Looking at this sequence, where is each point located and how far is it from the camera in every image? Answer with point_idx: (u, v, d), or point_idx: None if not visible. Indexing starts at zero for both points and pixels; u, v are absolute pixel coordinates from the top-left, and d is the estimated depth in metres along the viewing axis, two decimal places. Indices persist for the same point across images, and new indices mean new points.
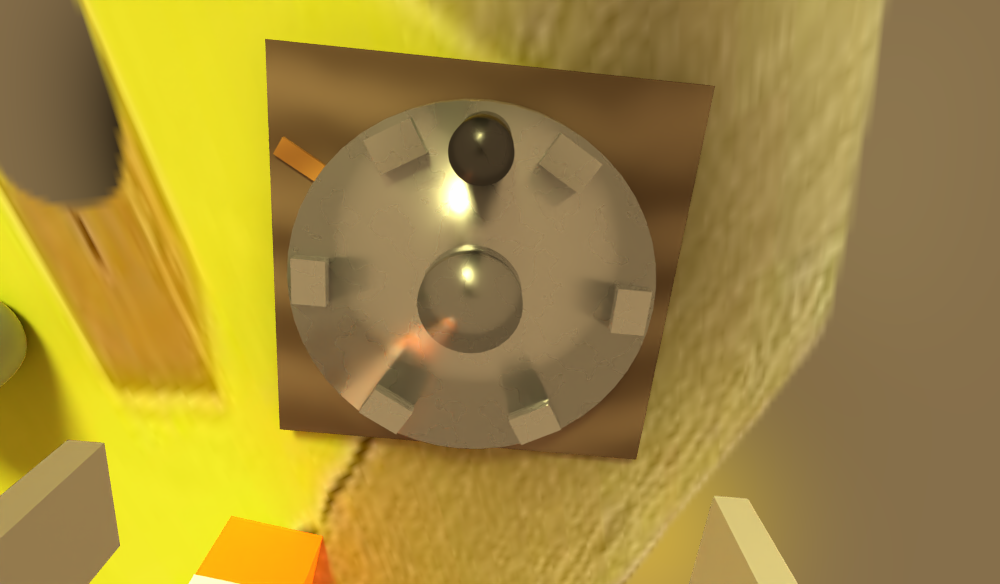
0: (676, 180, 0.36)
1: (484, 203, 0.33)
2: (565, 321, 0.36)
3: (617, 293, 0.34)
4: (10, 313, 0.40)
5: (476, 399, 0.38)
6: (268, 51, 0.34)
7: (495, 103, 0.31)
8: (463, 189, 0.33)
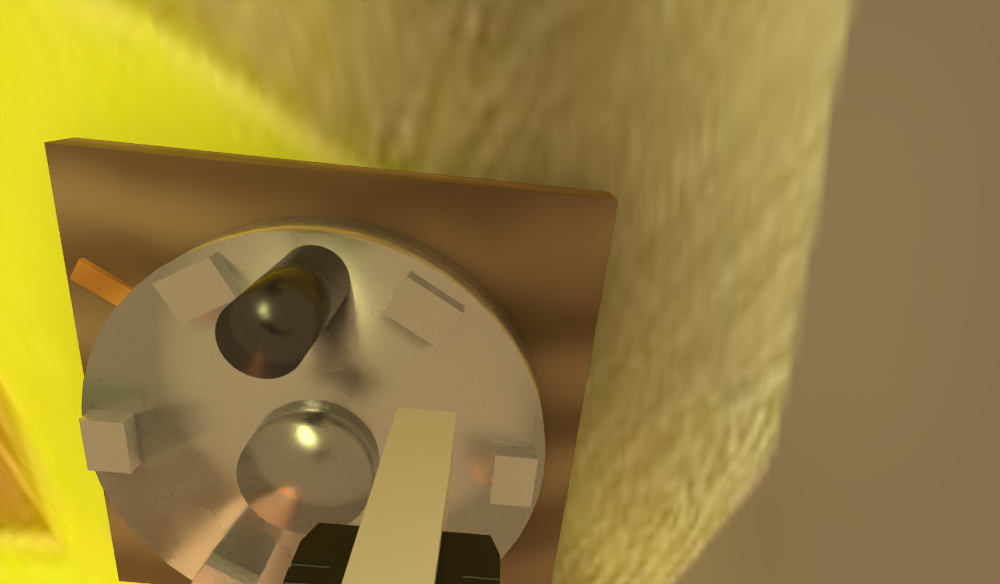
0: (575, 310, 0.29)
1: (322, 352, 0.26)
2: None
3: (495, 459, 0.27)
4: None
5: None
6: (50, 157, 0.26)
7: (324, 236, 0.24)
8: None
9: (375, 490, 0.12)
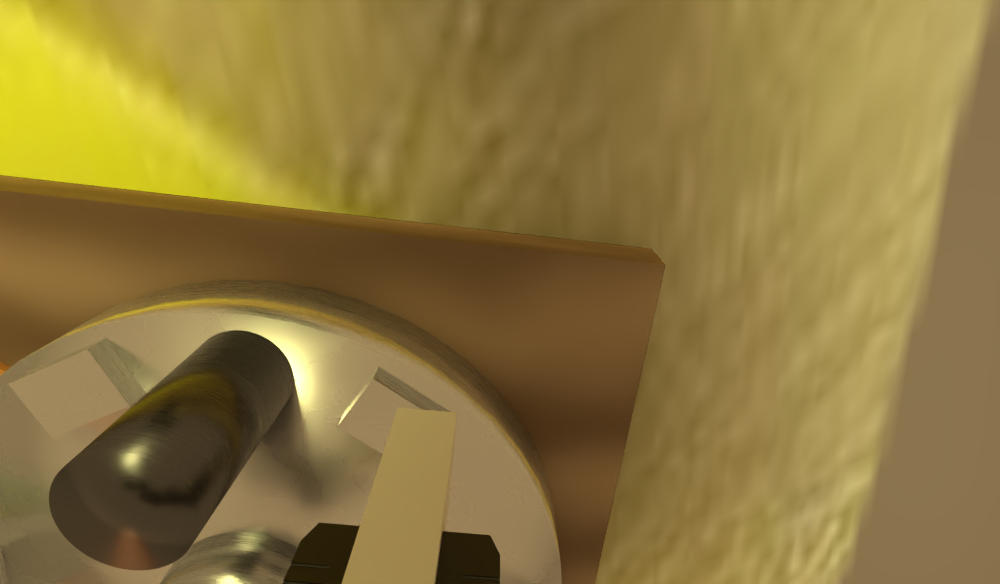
0: (603, 404, 0.22)
1: (257, 471, 0.19)
2: None
3: None
4: None
5: None
6: None
7: (255, 318, 0.17)
8: None
9: (375, 490, 0.12)
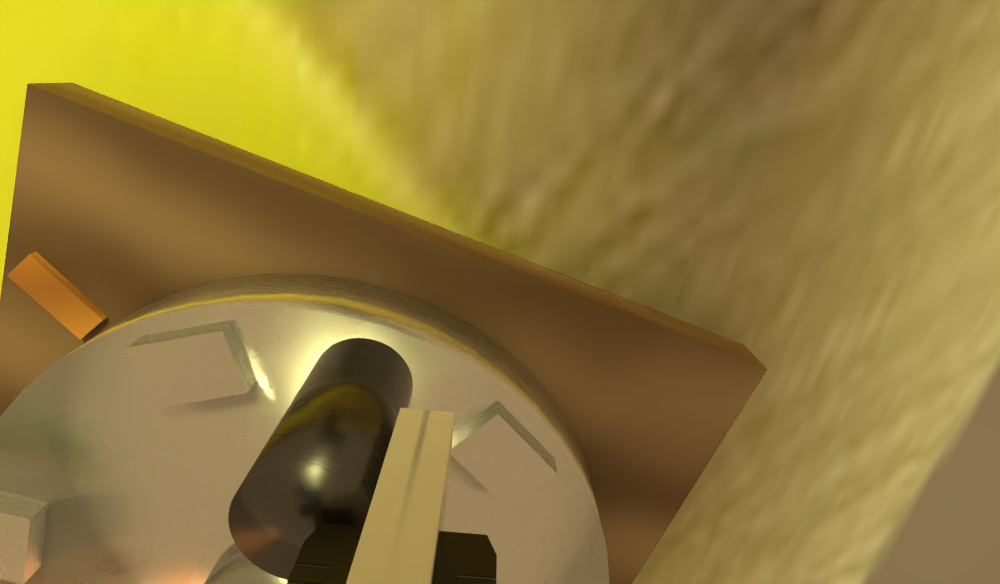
0: (667, 478, 0.23)
1: None
2: None
3: None
4: None
5: None
6: (29, 106, 0.18)
7: (393, 331, 0.17)
8: None
9: (379, 490, 0.12)
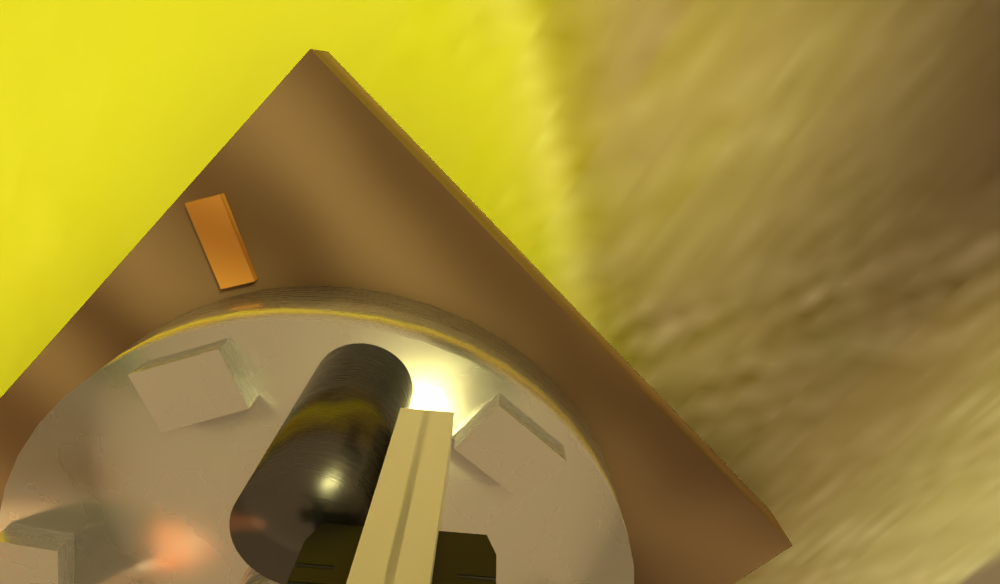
0: None
1: None
2: None
3: None
4: None
5: None
6: (300, 69, 0.18)
7: (387, 334, 0.17)
8: None
9: (379, 490, 0.12)
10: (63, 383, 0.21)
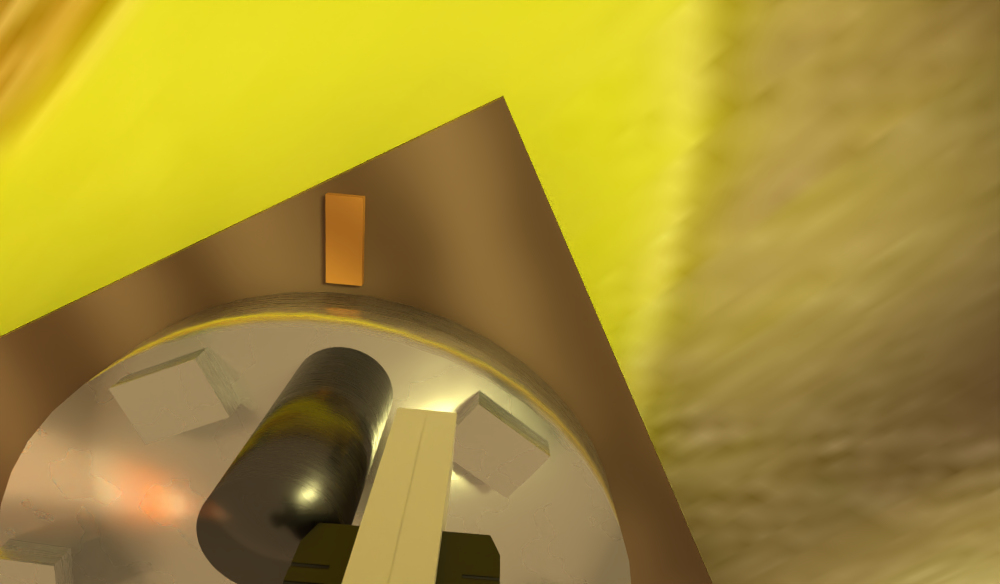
0: None
1: None
2: None
3: None
4: None
5: None
6: (486, 111, 0.18)
7: (362, 336, 0.17)
8: None
9: (375, 490, 0.12)
10: (124, 319, 0.20)
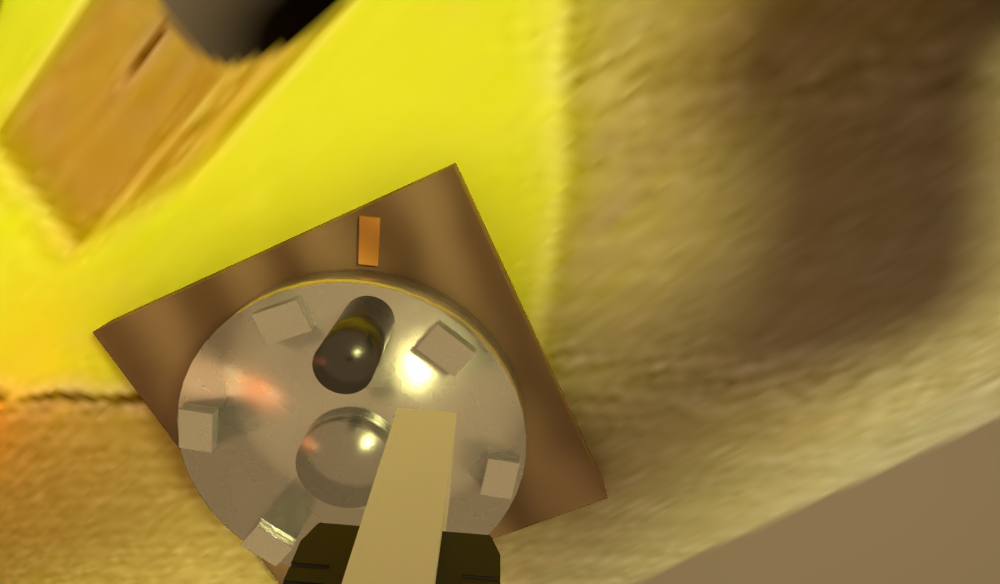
0: (530, 512, 0.43)
1: None
2: None
3: (487, 461, 0.37)
4: None
5: None
6: (444, 174, 0.35)
7: (379, 290, 0.34)
8: None
9: (375, 490, 0.12)
10: (245, 283, 0.37)
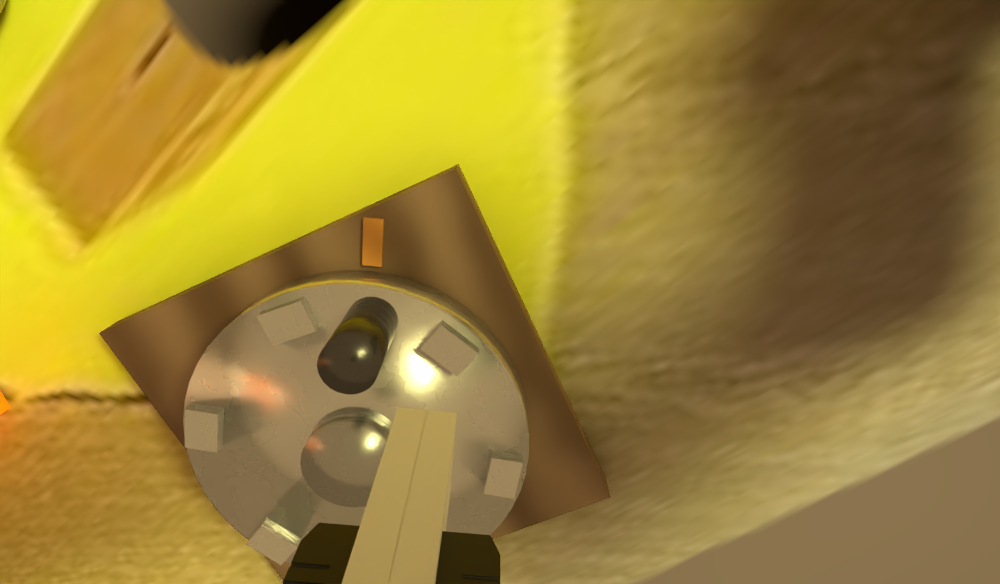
0: (533, 511, 0.43)
1: None
2: None
3: (491, 461, 0.37)
4: (3, 4, 0.32)
5: None
6: (447, 176, 0.35)
7: (383, 291, 0.34)
8: None
9: (375, 490, 0.12)
10: (250, 285, 0.37)
